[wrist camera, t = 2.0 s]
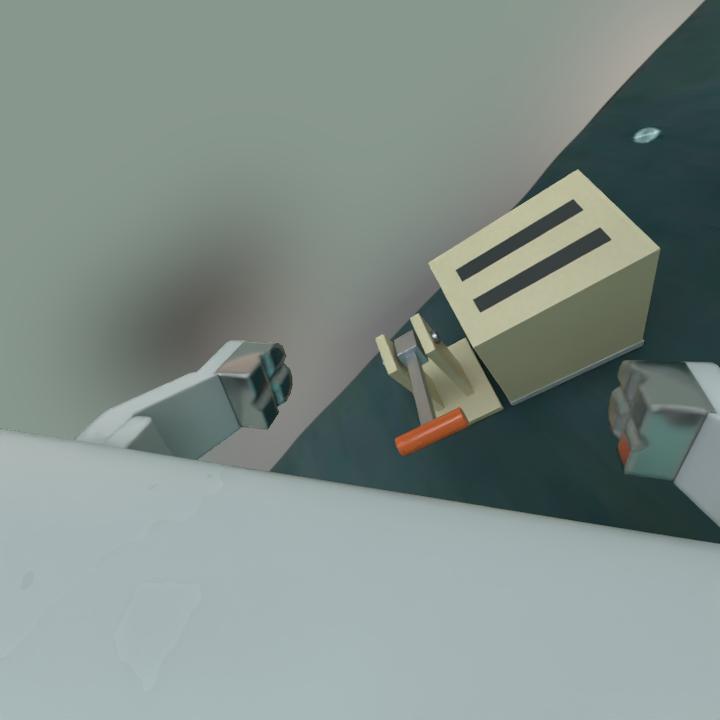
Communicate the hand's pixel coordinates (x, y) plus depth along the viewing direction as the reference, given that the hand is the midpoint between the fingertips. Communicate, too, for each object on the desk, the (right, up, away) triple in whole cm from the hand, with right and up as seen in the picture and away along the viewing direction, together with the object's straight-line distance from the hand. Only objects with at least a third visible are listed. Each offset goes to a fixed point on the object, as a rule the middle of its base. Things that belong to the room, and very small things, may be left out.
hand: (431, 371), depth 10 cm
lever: (+4, -3, +25) cm, 25 cm away
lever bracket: (+10, -3, +39) cm, 40 cm away
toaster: (+20, +2, +35) cm, 40 cm away
